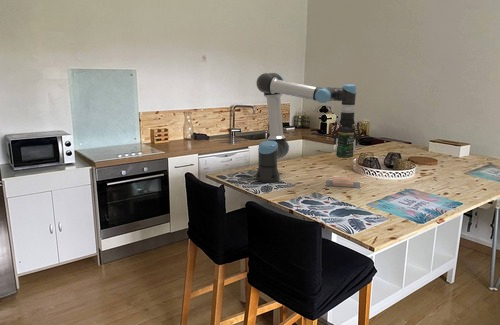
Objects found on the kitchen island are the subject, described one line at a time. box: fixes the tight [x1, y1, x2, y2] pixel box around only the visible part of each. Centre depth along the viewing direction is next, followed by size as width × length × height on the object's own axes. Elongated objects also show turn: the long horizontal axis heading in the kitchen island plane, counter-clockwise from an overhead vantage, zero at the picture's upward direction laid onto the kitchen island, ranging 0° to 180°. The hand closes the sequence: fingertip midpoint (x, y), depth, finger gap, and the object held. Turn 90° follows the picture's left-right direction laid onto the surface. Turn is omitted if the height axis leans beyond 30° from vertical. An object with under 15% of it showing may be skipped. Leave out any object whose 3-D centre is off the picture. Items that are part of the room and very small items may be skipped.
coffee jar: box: [335, 125, 356, 159], centre depth 222 cm, size 10×8×19 cm
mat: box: [325, 179, 361, 189], centre depth 228 cm, size 20×11×1 cm, turn 76°
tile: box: [332, 176, 354, 188], centre depth 228 cm, size 12×2×12 cm
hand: (345, 150), depth 223 cm, fingers closed on coffee jar, 9 cm apart
